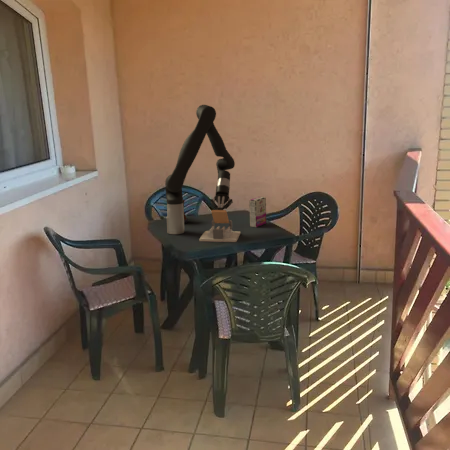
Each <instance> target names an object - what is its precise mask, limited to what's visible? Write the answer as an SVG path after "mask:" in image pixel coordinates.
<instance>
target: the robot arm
mask: <svg viewBox="0 0 450 450" xmlns="http://www.w3.org/2000/svg"><path fill="white" fill-rule="evenodd" d="M195 114H196V117H197V119H198V120H197V122H196V125H195V127H194V129H193V130H192V131H191V133H190V134H188V135H187V137H186V139H185V140H184V142H183V144H182V146H181V148H180V151H179V153H178V156H177V162H176V163H175V166H174V169H173V171H172V173H171V174H169V175H168V176H167V177H166V179H165V181H164V182H165V196H166V199H165V200H166V210H167V216H166V231H167V234H170V235H181V234H184V233H185V224H184V213H185V209H184V210H183V200H184V197H183V187H184V184H185V181H186V178H187V175H188V172H189V170H190V168H191V167H192V165H193V164H194V161H195V160H196V157H197V156H198V153H199V151H200V148H201V146H202V144H203V142H204V139H205V138H206V136H207V137H208V140H209V143H210V145H211V148H212V150H213V153H214V155H215V156H216V157H218V158H219V157H220V158H219V159H217V161H216V164H215V165H216V170H217V181H216V188H215V194H214V197H213V198H210V203H211V205H212V206H213V207H214V208H215V210H227V209H228V208H229V207H230V206H231V205H232V204H233V203H234V202H233V198H231V197H230V188H231V187H230V186H231V182H230V181H231V172H229V170H232V169H234V168H235V164H236V162H235V159H234V158H233V156H232V155H231V154H230V153H229V151H228V150H227V147H226V145H225V143H224V140H223V138H222V136H221V135H220V133H219V131H218V129H217V128H216V125H215V123H214V121H215V120H216V117H217V112H216V109H215V108H214V107H213V106H211V105H208V104H201V105H199V106H198V107H197V109H196V111H195ZM216 203H217V204H216Z"/></svg>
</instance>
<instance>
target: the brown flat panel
mask: <svg viewBox="0 0 450 450" xmlns="http://www.w3.org/2000/svg"><path fill="white" fill-rule="evenodd" d="M210 212H211V215H212V220H214V223H215V224H229V221H230V219H229V216H228V212H227V209H224V210H218V209H211V211H210Z"/></svg>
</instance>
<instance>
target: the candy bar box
mask: <svg viewBox="0 0 450 450" xmlns="http://www.w3.org/2000/svg"><path fill="white" fill-rule="evenodd" d="M266 198H267V197H266V196H257V197H254V198H252V199H248V201H249V204H248V206H249V209H248V210H249V227H251V228H259V227H261V226H264V225H266V224H267V199H266Z"/></svg>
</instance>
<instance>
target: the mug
mask: <svg viewBox="0 0 450 450" xmlns="http://www.w3.org/2000/svg"><path fill="white" fill-rule="evenodd" d="M185 203H186V200H185V199H183V210H184V211H185V209H184V207H185ZM188 220H189V219H188V218H187V216H186V213H185V212H184V225H185V224H188V222H189V221H188Z"/></svg>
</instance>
